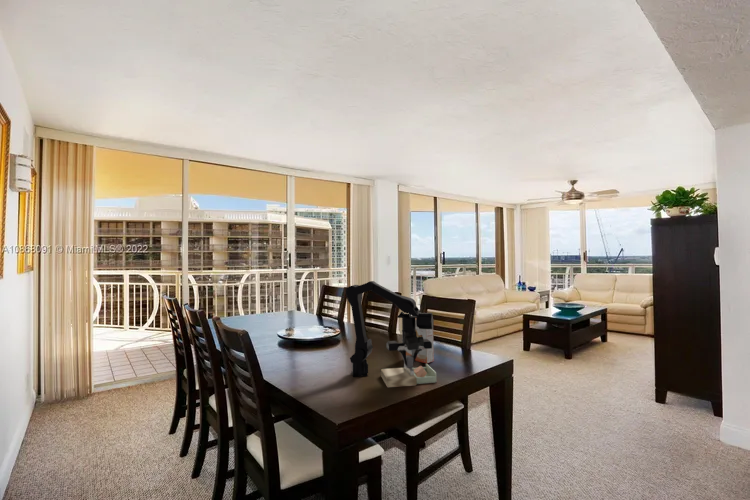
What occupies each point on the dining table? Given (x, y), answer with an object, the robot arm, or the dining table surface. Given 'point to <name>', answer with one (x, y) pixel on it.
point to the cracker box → (425, 354)
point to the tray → (427, 376)
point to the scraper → (409, 365)
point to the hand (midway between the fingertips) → (409, 365)
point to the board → (397, 377)
